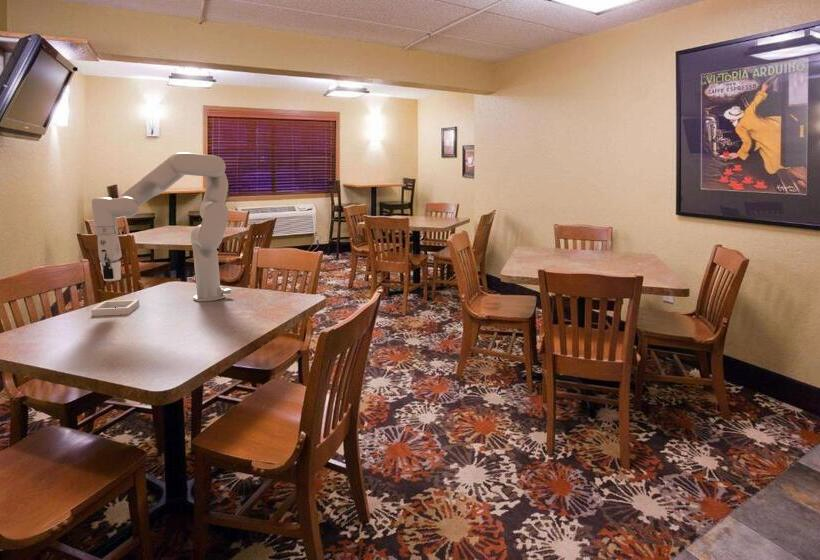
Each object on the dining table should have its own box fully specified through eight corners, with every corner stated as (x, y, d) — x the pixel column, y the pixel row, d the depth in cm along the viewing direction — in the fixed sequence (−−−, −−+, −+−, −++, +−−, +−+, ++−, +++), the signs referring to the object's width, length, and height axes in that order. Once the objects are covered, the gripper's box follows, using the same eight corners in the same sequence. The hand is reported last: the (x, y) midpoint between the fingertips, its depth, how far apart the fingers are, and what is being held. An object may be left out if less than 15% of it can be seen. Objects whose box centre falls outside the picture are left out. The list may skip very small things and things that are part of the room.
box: (139, 305, 200) (138, 299, 200) (129, 314, 188) (128, 307, 188) (104, 307, 198) (103, 301, 197) (91, 316, 186) (91, 309, 185)
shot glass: (126, 279, 191) (124, 261, 190) (107, 281, 186) (105, 263, 184) (116, 277, 195) (114, 259, 194) (98, 280, 189) (96, 262, 188)
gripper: (109, 232, 179) (114, 281, 183) (125, 228, 196) (130, 272, 199) (86, 233, 177) (92, 282, 181) (104, 228, 194) (109, 273, 198)
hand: (112, 276), depth 190 cm, fingers closed on shot glass, 6 cm apart
